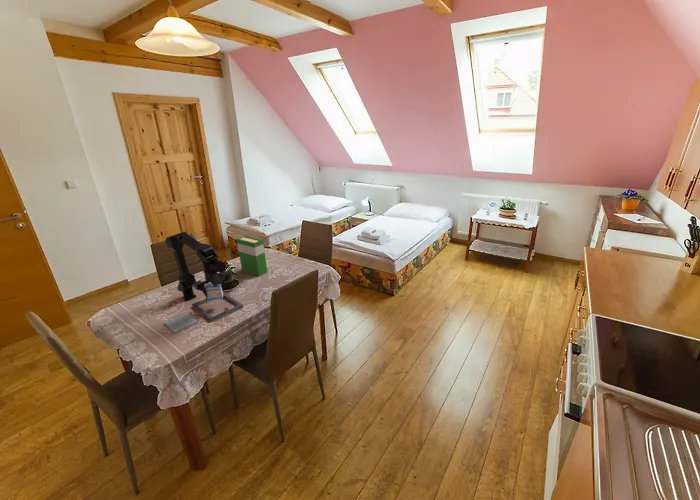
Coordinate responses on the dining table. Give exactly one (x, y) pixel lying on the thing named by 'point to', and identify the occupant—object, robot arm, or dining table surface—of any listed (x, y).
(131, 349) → the dining table surface
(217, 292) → the medicine box
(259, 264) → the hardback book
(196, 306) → the grey hollow rectangular frame
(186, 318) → the rubber mat
